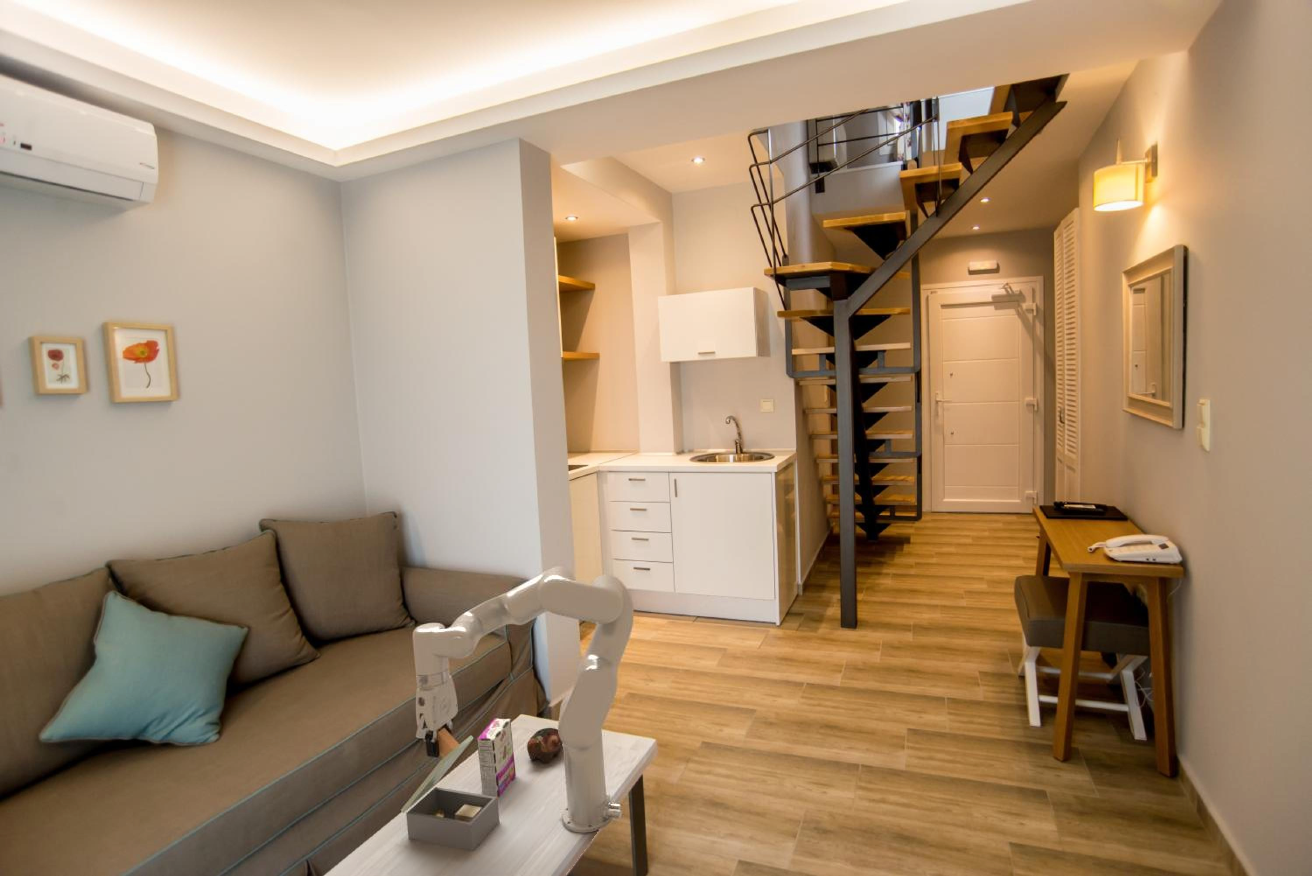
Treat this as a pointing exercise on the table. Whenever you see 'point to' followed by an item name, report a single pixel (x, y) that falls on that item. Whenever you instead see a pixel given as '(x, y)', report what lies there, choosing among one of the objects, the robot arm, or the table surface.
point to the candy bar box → (496, 757)
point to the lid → (439, 764)
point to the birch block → (467, 813)
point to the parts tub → (452, 819)
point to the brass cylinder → (437, 813)
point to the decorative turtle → (544, 744)
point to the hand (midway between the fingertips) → (439, 750)
